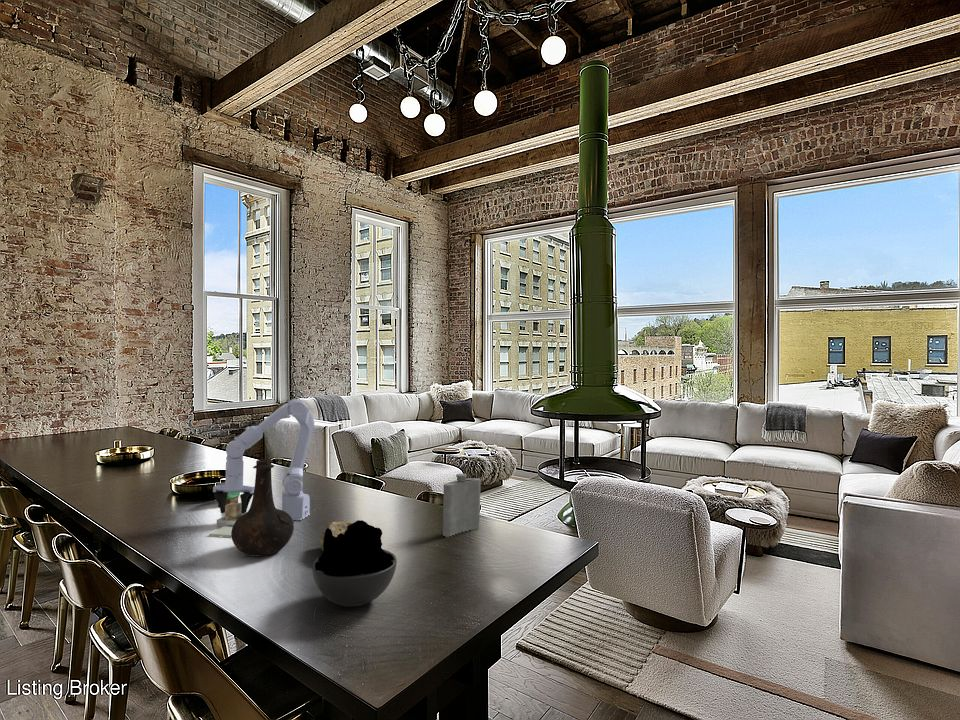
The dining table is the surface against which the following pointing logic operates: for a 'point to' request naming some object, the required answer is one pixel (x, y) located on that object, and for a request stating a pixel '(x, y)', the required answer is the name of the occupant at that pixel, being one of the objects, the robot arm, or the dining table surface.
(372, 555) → the bowl of black rocks
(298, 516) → the robot arm
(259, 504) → the glass bottle
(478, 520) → the hip flask
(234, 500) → the food container
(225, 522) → the white flat frame
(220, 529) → the ceramic tile
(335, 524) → the rock
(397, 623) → the dining table surface
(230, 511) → the maple peg
